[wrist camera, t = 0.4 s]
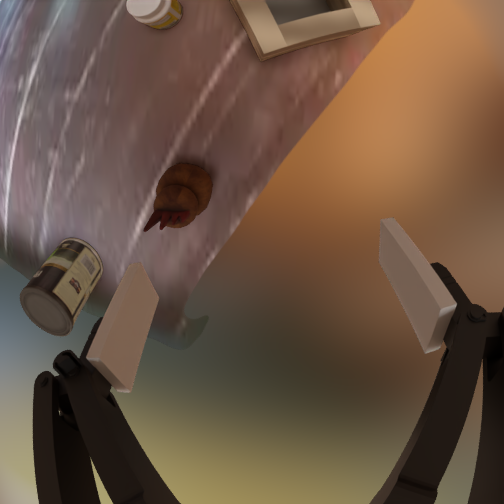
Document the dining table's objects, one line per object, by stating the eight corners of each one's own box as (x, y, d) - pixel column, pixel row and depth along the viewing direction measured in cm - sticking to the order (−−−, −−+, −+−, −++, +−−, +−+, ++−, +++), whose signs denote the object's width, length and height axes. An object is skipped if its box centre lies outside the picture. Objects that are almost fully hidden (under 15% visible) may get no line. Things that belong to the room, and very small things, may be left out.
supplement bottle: (158, -4, 25) (135, -21, 18) (189, 4, 26) (173, -14, 19) (142, 25, 27) (115, 15, 20) (173, 34, 28) (152, 23, 21)
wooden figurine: (163, 188, 40) (125, 242, 28) (175, 151, 37) (137, 193, 25) (206, 204, 42) (186, 266, 29) (221, 169, 39) (206, 219, 26)
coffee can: (52, 261, 47) (16, 310, 36) (68, 227, 43) (24, 276, 32) (91, 291, 51) (62, 345, 40) (112, 261, 47) (79, 318, 35)
